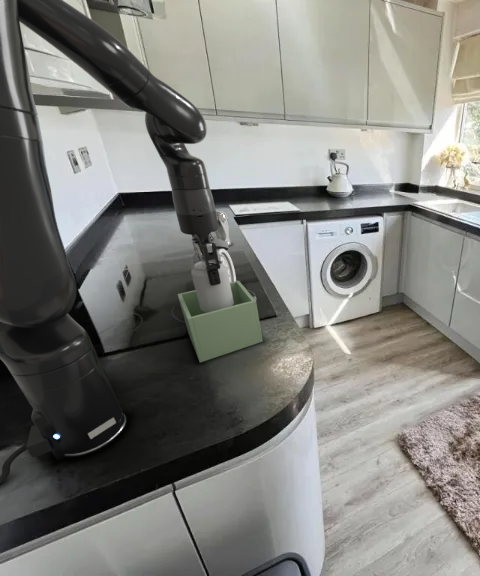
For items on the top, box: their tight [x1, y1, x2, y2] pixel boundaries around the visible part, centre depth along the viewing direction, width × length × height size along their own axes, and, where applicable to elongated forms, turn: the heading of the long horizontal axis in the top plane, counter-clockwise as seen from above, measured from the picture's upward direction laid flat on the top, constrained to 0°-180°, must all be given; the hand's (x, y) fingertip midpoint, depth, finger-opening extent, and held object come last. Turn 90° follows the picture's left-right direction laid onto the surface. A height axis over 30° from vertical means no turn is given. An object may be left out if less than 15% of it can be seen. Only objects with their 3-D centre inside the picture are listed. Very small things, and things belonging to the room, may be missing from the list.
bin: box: [177, 280, 264, 363], centre depth 81 cm, size 15×15×12 cm
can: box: [191, 260, 234, 313], centre depth 77 cm, size 8×8×12 cm
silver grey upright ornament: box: [214, 210, 232, 247], centre depth 146 cm, size 7×7×15 cm
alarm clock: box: [190, 232, 237, 290], centre depth 97 cm, size 16×9×22 cm, turn 12°
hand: (211, 278), depth 77 cm, fingers closed on can, 7 cm apart
